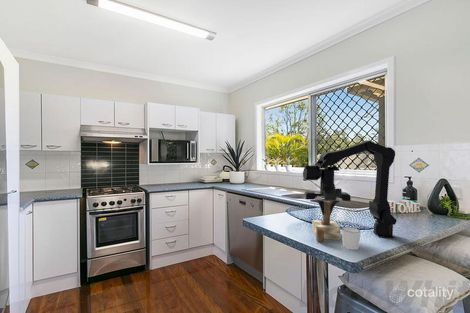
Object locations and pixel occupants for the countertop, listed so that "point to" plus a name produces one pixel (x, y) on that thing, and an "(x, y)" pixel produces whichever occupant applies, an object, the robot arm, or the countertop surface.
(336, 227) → the hole block
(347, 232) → the white cylinder
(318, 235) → the short pin
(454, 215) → the countertop surface
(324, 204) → the tall pin
